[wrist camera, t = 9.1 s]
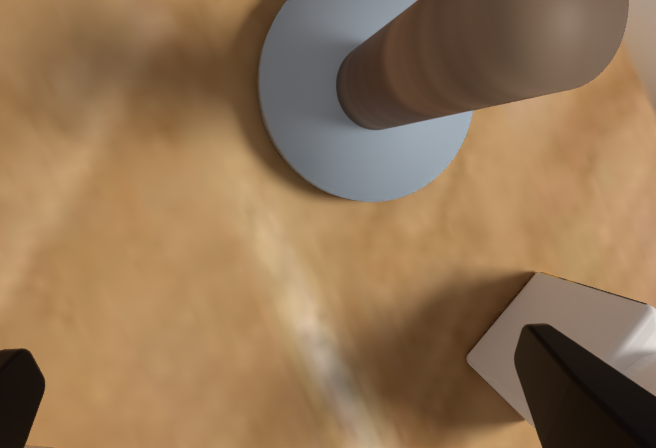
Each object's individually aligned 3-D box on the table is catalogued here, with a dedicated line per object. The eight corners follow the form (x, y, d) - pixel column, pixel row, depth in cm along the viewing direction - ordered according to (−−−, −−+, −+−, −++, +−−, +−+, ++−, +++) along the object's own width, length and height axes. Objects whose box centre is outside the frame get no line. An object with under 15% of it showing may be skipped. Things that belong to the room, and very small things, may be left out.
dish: (382, 241, 23) (392, 245, 22) (208, 105, 19) (209, 101, 18) (497, 79, 23) (512, 74, 22) (348, -78, 20) (357, -93, 19)
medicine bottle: (594, 337, 28) (866, 453, 17) (527, 422, 27) (762, 605, 16) (536, 268, 26) (800, 346, 14) (461, 357, 25) (678, 514, 14)
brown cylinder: (358, 144, 20) (525, 119, 10) (321, 64, 19) (463, -56, 9) (425, 108, 21) (646, 48, 11) (393, 29, 20) (601, -119, 10)
